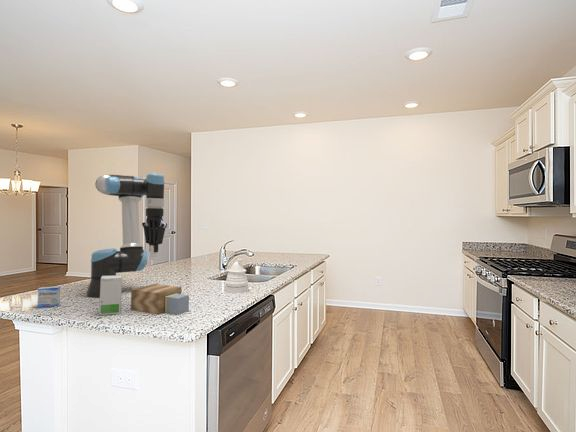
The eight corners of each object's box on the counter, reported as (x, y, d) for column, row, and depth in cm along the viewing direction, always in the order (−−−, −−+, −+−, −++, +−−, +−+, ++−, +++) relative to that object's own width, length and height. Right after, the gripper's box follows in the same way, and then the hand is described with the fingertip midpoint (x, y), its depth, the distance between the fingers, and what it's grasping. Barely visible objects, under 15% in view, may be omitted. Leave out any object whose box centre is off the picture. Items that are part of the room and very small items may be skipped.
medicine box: (37, 308, 150) (37, 288, 150) (39, 306, 154) (39, 286, 154) (58, 306, 153) (58, 287, 153) (60, 304, 157) (60, 285, 157)
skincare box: (98, 315, 141) (99, 278, 140) (100, 311, 147) (101, 275, 147) (121, 313, 144) (121, 277, 144) (122, 309, 150) (122, 274, 150)
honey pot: (252, 290, 192) (253, 258, 192) (237, 294, 182) (238, 261, 182) (235, 287, 199) (236, 257, 199) (220, 291, 189) (220, 259, 188)
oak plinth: (130, 309, 150) (131, 289, 150) (154, 302, 163) (154, 283, 163) (158, 314, 144) (159, 293, 144) (181, 306, 157) (181, 287, 157)
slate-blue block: (165, 296, 147) (178, 298, 144) (176, 293, 153) (188, 295, 150) (165, 312, 147) (177, 314, 144) (176, 308, 153) (188, 310, 150)
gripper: (137, 207, 153) (136, 259, 154) (159, 208, 148) (158, 261, 149) (150, 207, 160) (149, 257, 161) (171, 208, 155) (170, 259, 156)
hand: (153, 259), depth 155 cm, fingers closed
